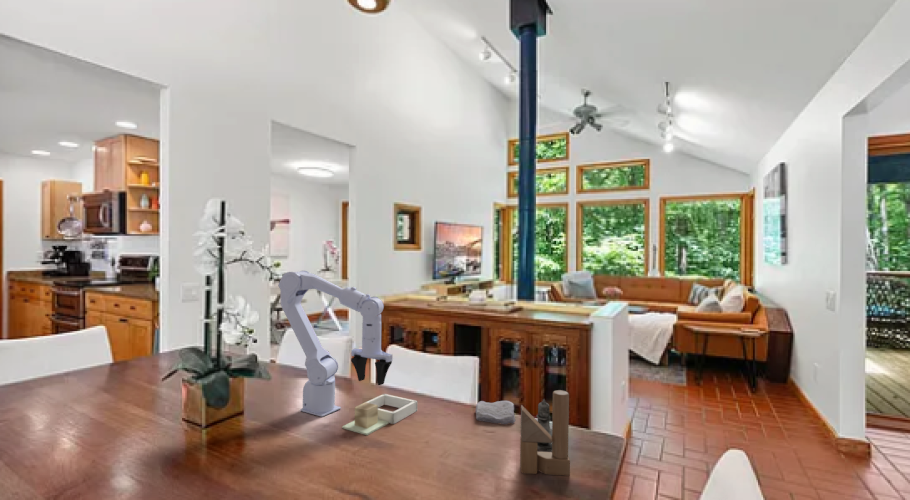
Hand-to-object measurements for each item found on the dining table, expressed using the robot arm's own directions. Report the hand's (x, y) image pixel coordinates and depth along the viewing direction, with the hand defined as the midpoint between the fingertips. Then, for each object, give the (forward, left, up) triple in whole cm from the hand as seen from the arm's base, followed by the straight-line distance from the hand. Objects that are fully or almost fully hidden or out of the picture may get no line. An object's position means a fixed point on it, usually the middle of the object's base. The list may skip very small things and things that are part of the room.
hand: (371, 382), depth 129 cm
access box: (+4, +3, -9) cm, 11 cm away
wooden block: (+56, -6, -10) cm, 57 cm away
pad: (+5, -8, -9) cm, 13 cm away
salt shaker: (+52, +6, -10) cm, 53 cm away
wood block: (+5, -8, -9) cm, 13 cm away
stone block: (+34, +16, -10) cm, 39 cm away
